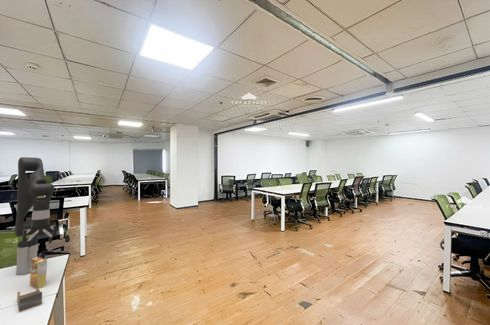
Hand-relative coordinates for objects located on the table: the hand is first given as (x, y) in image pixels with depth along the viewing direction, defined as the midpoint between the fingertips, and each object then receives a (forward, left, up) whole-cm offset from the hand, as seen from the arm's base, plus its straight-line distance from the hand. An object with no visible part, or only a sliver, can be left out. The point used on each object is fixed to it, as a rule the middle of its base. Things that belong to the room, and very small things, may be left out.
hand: (39, 245), depth 123 cm
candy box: (0, 0, -24) cm, 24 cm away
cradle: (+17, -5, -23) cm, 29 cm away
